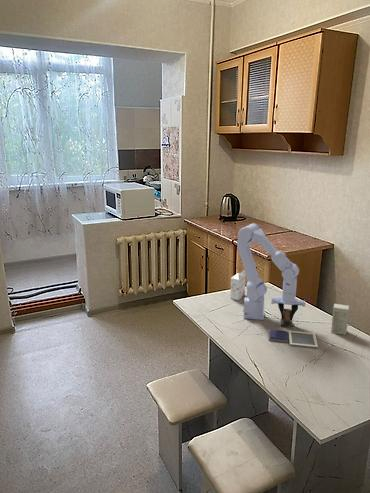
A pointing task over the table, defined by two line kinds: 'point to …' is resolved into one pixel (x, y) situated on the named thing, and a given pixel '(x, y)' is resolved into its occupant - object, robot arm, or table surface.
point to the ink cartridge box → (238, 286)
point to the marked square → (302, 339)
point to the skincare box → (340, 319)
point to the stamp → (286, 318)
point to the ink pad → (278, 336)
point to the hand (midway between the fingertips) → (286, 318)
